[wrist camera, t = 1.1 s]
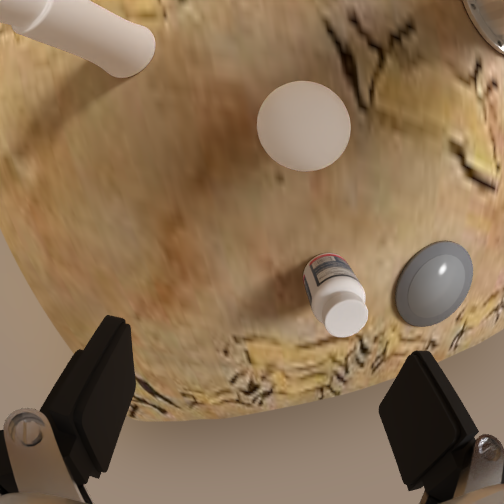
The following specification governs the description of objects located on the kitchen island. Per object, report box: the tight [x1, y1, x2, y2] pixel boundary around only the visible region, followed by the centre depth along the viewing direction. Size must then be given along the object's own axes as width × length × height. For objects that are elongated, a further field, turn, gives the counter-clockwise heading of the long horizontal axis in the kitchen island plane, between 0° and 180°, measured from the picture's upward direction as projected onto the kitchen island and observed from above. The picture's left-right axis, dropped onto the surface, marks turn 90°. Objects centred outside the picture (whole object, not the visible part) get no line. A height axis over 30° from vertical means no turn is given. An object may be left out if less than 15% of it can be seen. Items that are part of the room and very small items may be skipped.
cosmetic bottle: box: [0, 0, 155, 78], centre depth 14 cm, size 6×6×22 cm
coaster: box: [395, 241, 473, 327], centre depth 34 cm, size 12×12×1 cm
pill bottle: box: [303, 253, 368, 337], centre depth 29 cm, size 5×5×9 cm
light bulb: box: [257, 81, 351, 172], centre depth 22 cm, size 7×7×11 cm
